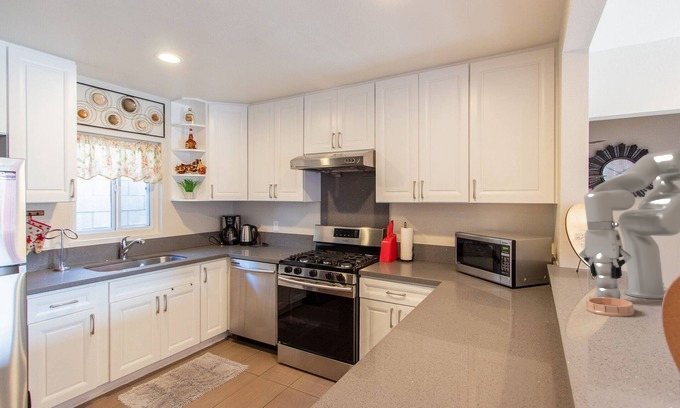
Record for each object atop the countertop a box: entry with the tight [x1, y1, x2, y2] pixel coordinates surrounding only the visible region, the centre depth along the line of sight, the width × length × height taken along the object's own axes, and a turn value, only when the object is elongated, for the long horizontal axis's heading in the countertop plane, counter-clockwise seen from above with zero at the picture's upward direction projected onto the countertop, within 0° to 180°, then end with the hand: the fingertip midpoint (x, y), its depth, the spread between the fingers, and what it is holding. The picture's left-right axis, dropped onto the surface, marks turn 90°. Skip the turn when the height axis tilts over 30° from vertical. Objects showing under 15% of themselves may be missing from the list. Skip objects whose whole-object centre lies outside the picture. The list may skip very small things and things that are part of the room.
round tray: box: [585, 296, 635, 318], centre depth 106 cm, size 12×12×3 cm
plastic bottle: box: [593, 254, 622, 299], centre depth 116 cm, size 6×7×20 cm
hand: (606, 276), depth 116 cm, fingers closed on plastic bottle, 6 cm apart
